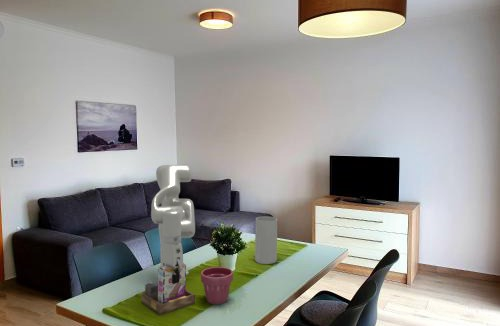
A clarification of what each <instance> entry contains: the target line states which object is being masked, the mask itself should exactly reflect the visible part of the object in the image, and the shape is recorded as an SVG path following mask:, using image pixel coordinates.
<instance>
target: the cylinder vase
mask: <svg viewBox="0 0 500 326" xmlns="http://www.w3.org/2000/svg"><path fill="white" fill-rule="evenodd" d="M254 238H255V243H254V246H255V247H254V258H255V259H254V260H255V262H256V263H257V264H262V265H271V264H275V263H277V259H278V257H277V256H278V255H277V253H278V248H277V247H278V218H277V217H276V216H275V217H274V216H265V215H264V216H258V217H255V237H254Z"/></svg>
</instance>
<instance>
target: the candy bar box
mask: <svg viewBox="0 0 500 326" xmlns="http://www.w3.org/2000/svg"><path fill="white" fill-rule="evenodd" d="M175 266H177V265H175ZM182 267H183V269H182V270H181V272H180V282H179V283H175V284H173V283H172V274H173V269H172V267H170V266H168V265H165V266H161V265H160V266H158V267H157V268H158V269H157V272H158V273H157V280H158V303H160V304H163V303H167V302H169V301H170V300H174V299H177V298H180V297H183V296H185V289H186V279H187V275H186V271H187V265H186V264H185V263H184V262H183V266H182ZM176 269H177V268H175V271H176Z"/></svg>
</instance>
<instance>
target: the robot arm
mask: <svg viewBox="0 0 500 326" xmlns="http://www.w3.org/2000/svg"><path fill="white" fill-rule="evenodd" d="M155 170H156V171H155V172H156V173H155V177H156V180H157V181H156V182H157V184H158V186H159V189H160V190H159V191H158V192H157V193H156V194H155V196H154V197H153V198H152V201H151V209H150V210H151V211H150V212H151V213H150V214H151V220H152V222H153V223H154V224H155V225H156V224H157V225H158V233H159V234H158V235H159V240H160V241H159V242H160V244H159V245H160V267H161V266H165V265H168V266H170V267H172V269H173V274H172V283H173V284H175V283H179V282H180V272H181V270H182V269H183V267H182V266H183V263H184V254H183V253H184V252H183V246H182V239H190V238H193V237H194V236H195V233H196V221H195V219H196V217H195V206H194V202H193V200H191V199H190V198H179V195H180V193H181V183H189V182H191V181H192V178H193V171H192V170H193V169H192V167H191V166H190V165H189V164H163V165H159V166H158V167H157V168H156V169H155ZM160 205H161V206H160ZM175 265H177V266H175ZM175 268H177V269H176V271H175ZM186 276H189V270H186ZM157 281H158V279H157ZM157 281H156V282H157Z"/></svg>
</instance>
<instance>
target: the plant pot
mask: <svg viewBox="0 0 500 326" xmlns="http://www.w3.org/2000/svg"><path fill="white" fill-rule="evenodd" d="M233 271H234V270H232V269H231V268H229V267H224V266H213V267H207V268H205V269H203V270H201V273H200V282H201V283H202V284H203V289H204V295H205V298H206V301H207V302H208V303H209V304H212V305H221V304H223V303H224V304H225V303H226V302H227V301H228V297H229V294H230V293H229V292H230V290H231V289H230V288H231V283H232V282H233V281H234V272H233Z"/></svg>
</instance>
